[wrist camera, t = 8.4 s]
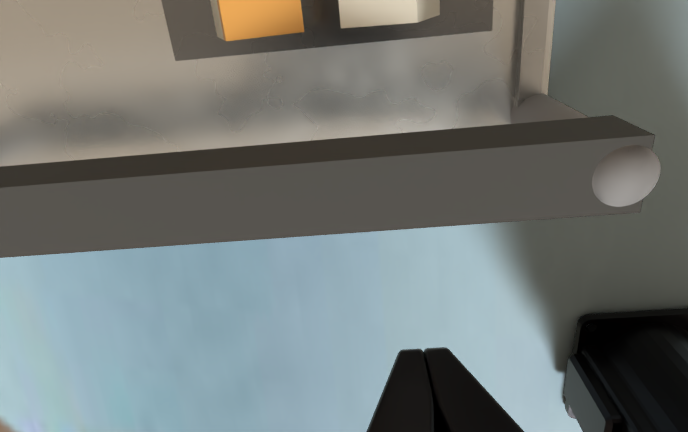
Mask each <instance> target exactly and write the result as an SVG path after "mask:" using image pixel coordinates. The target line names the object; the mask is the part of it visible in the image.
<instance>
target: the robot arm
mask: <svg viewBox="0 0 688 432" xmlns="http://www.w3.org/2000/svg"><path fill="white" fill-rule="evenodd" d="M589 324H592V325H591V326H589V327H586V326H587V325H589ZM564 396H565V398H566V403H565V409H566V411H567V413H568V415H569V416H570V417H571V418H574V419H577V421H578V423H579V425H580V427H581V429H582V431H583V432H688V309H671V310H654V311H637V312H619V313H602V314H588V315H584V316H582V317H581V318H580V319H579V320H578V322H577V326H576V333H575V340H574V347H573V354H571V355H570V357H569V358H568V365H567V372H566V379H565V386H564ZM367 432H524V431H523V430H522V429H521V428H520V427H519V425H518V424H517V423H516V422H515V421H514V420H513V419H512V418H511V417H510V416H509V415H508V413H507V412H506V411H505V410H504V409H503V408H502V407H501V406H500V405H499V404H498V403H497V401H496V400H495V399H494V398H493V397H492V396H491V395H490V394H489V393H488V392H487V391H486V389H485V388H484V387H483V386H482V385H481V384H480V383H479V382H478V381H477V380H476V379H475V377H474V376H473V375H472V374H471V373H470V372H469V371H468V370H467V369H466V368H465V367H464V365H463V364H462V363H461V362H460V361H459V360H458V359H457V358H456V357H455V356H454V355H453V353H452V352H451V351H450V350H449V349H447V348H444V347H442V348H427V349H425V350H424V353H423V351H422V350H421V349H406V350H401V351H400V352H399V353H398V355H397V358H396V360H395V363H394V365H393V368H392V370H391V372H390V375H389V377H388V380H387V382H386V385H385V387H384V390H383V392H382V395H381V397H380V400H379V402H378V405H377V407H376V410H375V412H374V415H373V417H372V420H371V422H370V424H369V427H368V429H367Z"/></svg>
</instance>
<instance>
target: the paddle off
mask: <svg viewBox="0 0 688 432" xmlns="http://www.w3.org/2000/svg"><path fill="white" fill-rule="evenodd" d="M210 2H211V7H212V12H213V17H214V23H215V28H216V33H217V37H219V38H221V39H223V40H225V41H233V40H242V39H250V38H259V37H267V36H275V35H284V34H292V33H300V32H304V25H303V16H302V8H301V0H210Z"/></svg>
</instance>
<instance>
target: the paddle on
mask: <svg viewBox="0 0 688 432" xmlns="http://www.w3.org/2000/svg"><path fill="white" fill-rule="evenodd" d="M338 2H339V13H340V25H341V28H353V27H367V26H380V25H393V24H406V23H418V22H421V21H424V20H426V19H429V18H432V17H435V16H438V15H440V0H338Z"/></svg>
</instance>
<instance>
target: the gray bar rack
mask: <svg viewBox="0 0 688 432" xmlns="http://www.w3.org/2000/svg"><path fill="white" fill-rule="evenodd" d="M511 123H512V124H504V125H492V126H480V127H468V128H456V129H444V130H432V131H420V132H408V133H396V134H384V135H372V136H360V137H348V138H336V139H324V140H312V141H300V142H288V143H276V144H265V145H253V146H241V147H229V148H217V149H205V150H193V151H181V152H169V153H157V154H145V155H133V156H121V157H109V158H97V159H85V160H73V161H61V162H49V163H37V164H25V165H13V166H1V167H0V258H3V257H17V256H31V255H46V254H60V253H74V252H88V251H102V250H116V249H130V248H144V247H159V246H173V245H187V244H201V243H215V242H229V241H243V240H257V239H272V238H286V237H300V236H314V235H328V234H342V233H356V232H371V231H385V230H399V229H413V228H427V227H441V226H455V225H469V224H484V223H498V222H512V221H526V220H540V219H554V218H568V217H582V216H597V215H611V214H625V213H639V212H640V211H641V205H642V200H643V198H644V197H646V196H647V195H648V194H649V193H650V192H651V191H652V190H653V188H654V187H655V185H656V184H657V182H658V179H659V176H660V171H661V166H660V161H659V159H658V157H657V155H656V154H655V153H654V152H653V151H652V147H653V142H654V137H655V135H654V134H652V133H649V132H647V131H645V130H643V129H641V128H639V127H637V126H634V125H632V124H630V123H628V122H626V121H624V120H622V119H620V118H617V117H615V116H613V115H612V116H600V117H588V116H586V115H584V114H582V113H580V112H578V111H576V110H575V109H573V108H571V107H569V106H567V105H565V104H563V103H561V102H559V101H557V100H555V99H554V98H552V97H550V96H548V95H546V94H544V93H542V94H539V95H534V96H531V97H529V98H527V99H526V100H524V101H523V102H522V103H521V104H520V106H519V107H516V106H515V105H513V107H512V110H511Z"/></svg>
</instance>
